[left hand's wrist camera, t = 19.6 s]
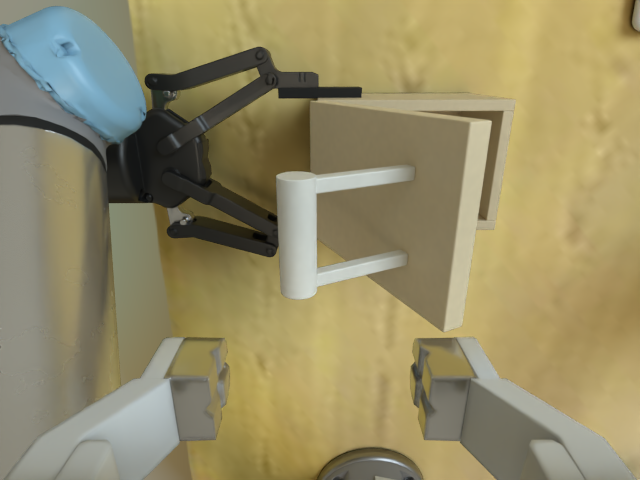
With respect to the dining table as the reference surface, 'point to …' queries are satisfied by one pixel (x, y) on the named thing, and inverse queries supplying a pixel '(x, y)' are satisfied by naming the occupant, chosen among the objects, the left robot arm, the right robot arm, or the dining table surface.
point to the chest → (463, 107)
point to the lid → (386, 205)
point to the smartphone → (636, 16)
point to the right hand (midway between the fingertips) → (357, 158)
